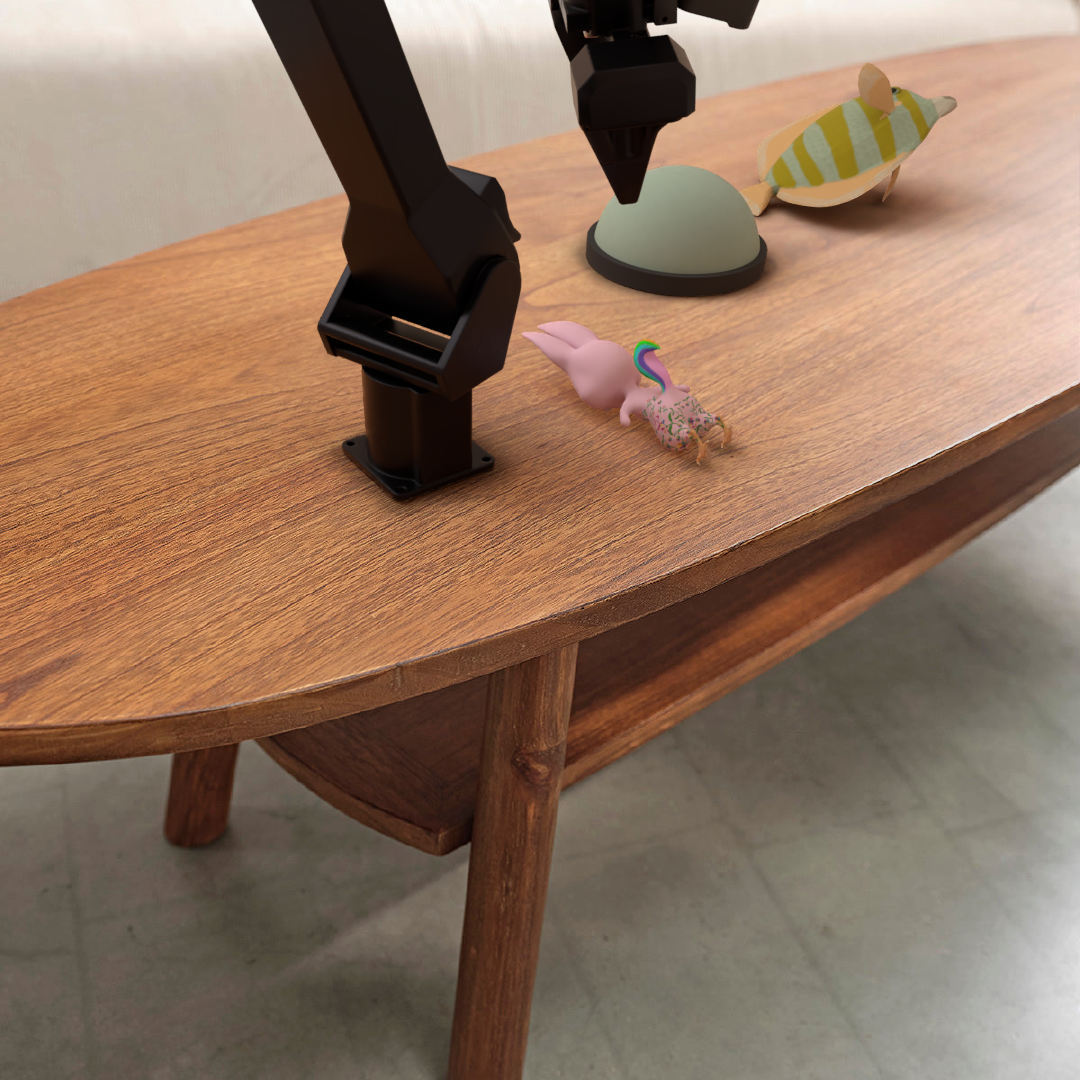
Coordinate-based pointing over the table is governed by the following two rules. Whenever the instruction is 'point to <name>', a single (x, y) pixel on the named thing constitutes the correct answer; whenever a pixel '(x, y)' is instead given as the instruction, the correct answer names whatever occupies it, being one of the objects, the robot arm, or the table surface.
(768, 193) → the decorative fish sculpture
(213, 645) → the table surface
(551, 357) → the rabbit figure
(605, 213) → the dome on round base
